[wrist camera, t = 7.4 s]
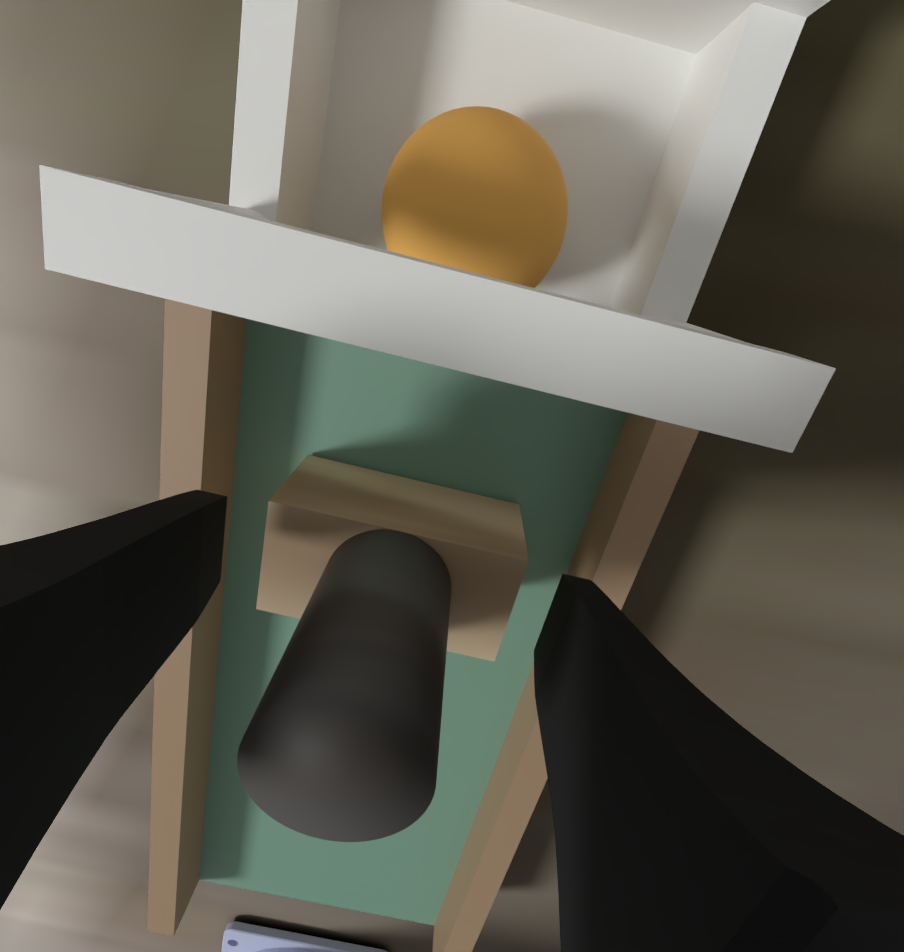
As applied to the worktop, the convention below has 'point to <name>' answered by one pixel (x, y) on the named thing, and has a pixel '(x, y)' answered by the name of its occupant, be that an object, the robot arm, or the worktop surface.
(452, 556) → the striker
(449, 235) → the ball
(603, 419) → the pitch
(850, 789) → the worktop surface
